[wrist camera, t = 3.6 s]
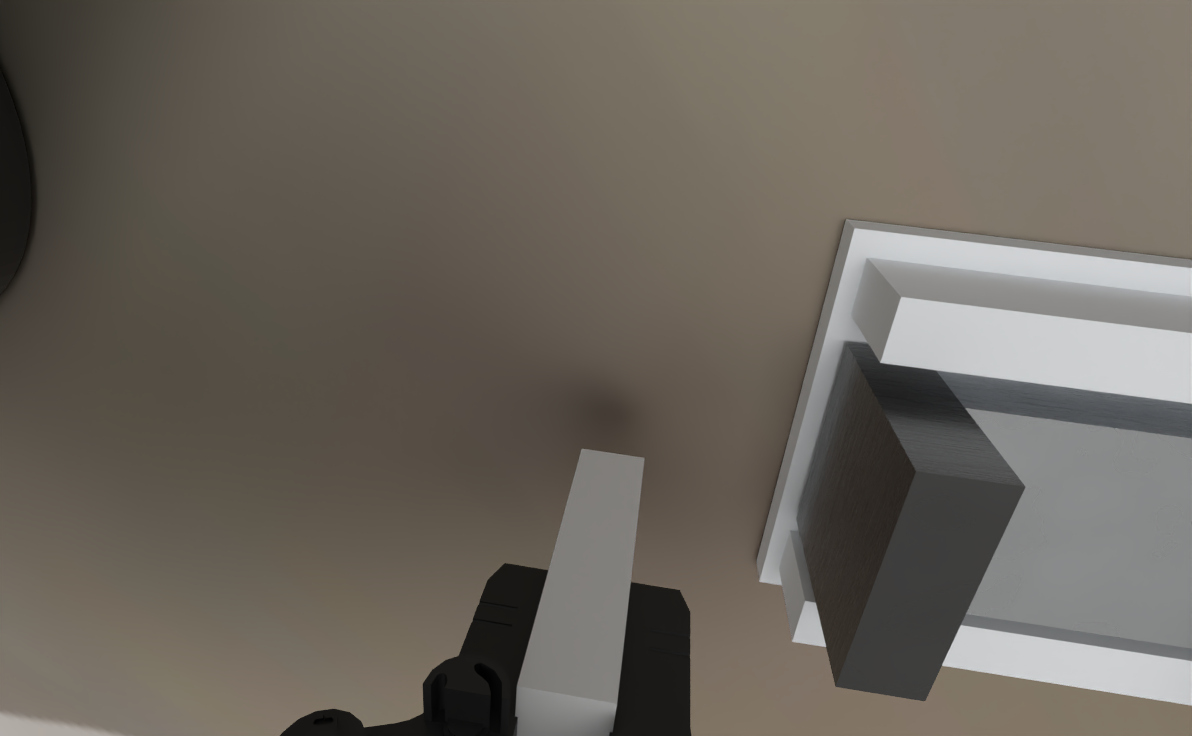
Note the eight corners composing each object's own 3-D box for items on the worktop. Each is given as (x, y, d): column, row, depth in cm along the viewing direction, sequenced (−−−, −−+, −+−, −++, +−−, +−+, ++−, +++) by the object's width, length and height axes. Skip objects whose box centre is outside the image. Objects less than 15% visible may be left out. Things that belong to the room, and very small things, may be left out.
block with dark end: (775, 590, 22) (805, 768, 17) (846, 343, 18) (915, 471, 12) (1189, 654, 21) (1361, 863, 16) (1360, 409, 17) (1673, 577, 12)
